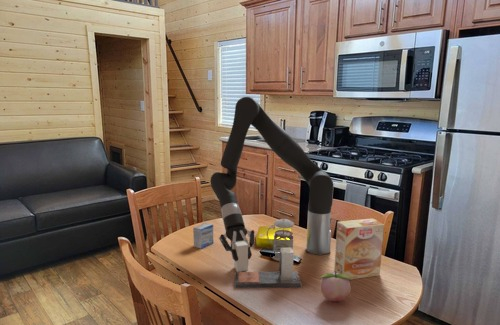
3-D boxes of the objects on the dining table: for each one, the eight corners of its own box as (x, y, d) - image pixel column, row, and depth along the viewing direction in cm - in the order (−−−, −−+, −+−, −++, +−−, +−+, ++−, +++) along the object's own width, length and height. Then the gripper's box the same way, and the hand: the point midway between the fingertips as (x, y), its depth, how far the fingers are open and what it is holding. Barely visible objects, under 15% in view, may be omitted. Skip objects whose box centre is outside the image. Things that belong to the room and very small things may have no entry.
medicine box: (200, 249, 147) (200, 229, 145) (193, 246, 149) (193, 227, 148) (213, 243, 153) (213, 224, 151) (206, 240, 156) (206, 222, 154)
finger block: (244, 265, 133) (244, 240, 131) (248, 270, 129) (248, 244, 127) (234, 267, 131) (233, 242, 129) (237, 272, 128) (237, 246, 126)
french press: (294, 262, 136) (296, 200, 131) (264, 259, 138) (265, 198, 133) (296, 252, 145) (298, 193, 141) (268, 249, 147) (269, 191, 143)
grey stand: (297, 275, 126) (298, 245, 124) (300, 287, 118) (302, 255, 116) (235, 275, 125) (235, 245, 123) (235, 287, 117) (235, 255, 115)
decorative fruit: (344, 293, 115) (346, 264, 113) (352, 308, 106) (354, 277, 105) (316, 293, 114) (317, 264, 112) (322, 308, 106) (323, 277, 104)
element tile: (290, 236, 163) (291, 226, 162) (291, 249, 148) (291, 238, 147) (258, 234, 164) (258, 224, 164) (255, 247, 150) (255, 237, 149)
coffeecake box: (343, 281, 122) (346, 227, 119) (333, 271, 129) (336, 220, 125) (380, 275, 126) (385, 224, 123) (369, 266, 133) (372, 217, 129)
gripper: (216, 214, 131) (226, 258, 122) (252, 210, 136) (264, 252, 127) (212, 223, 137) (222, 266, 128) (247, 219, 142) (258, 260, 133)
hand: (243, 259), depth 128 cm, fingers closed on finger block, 4 cm apart
